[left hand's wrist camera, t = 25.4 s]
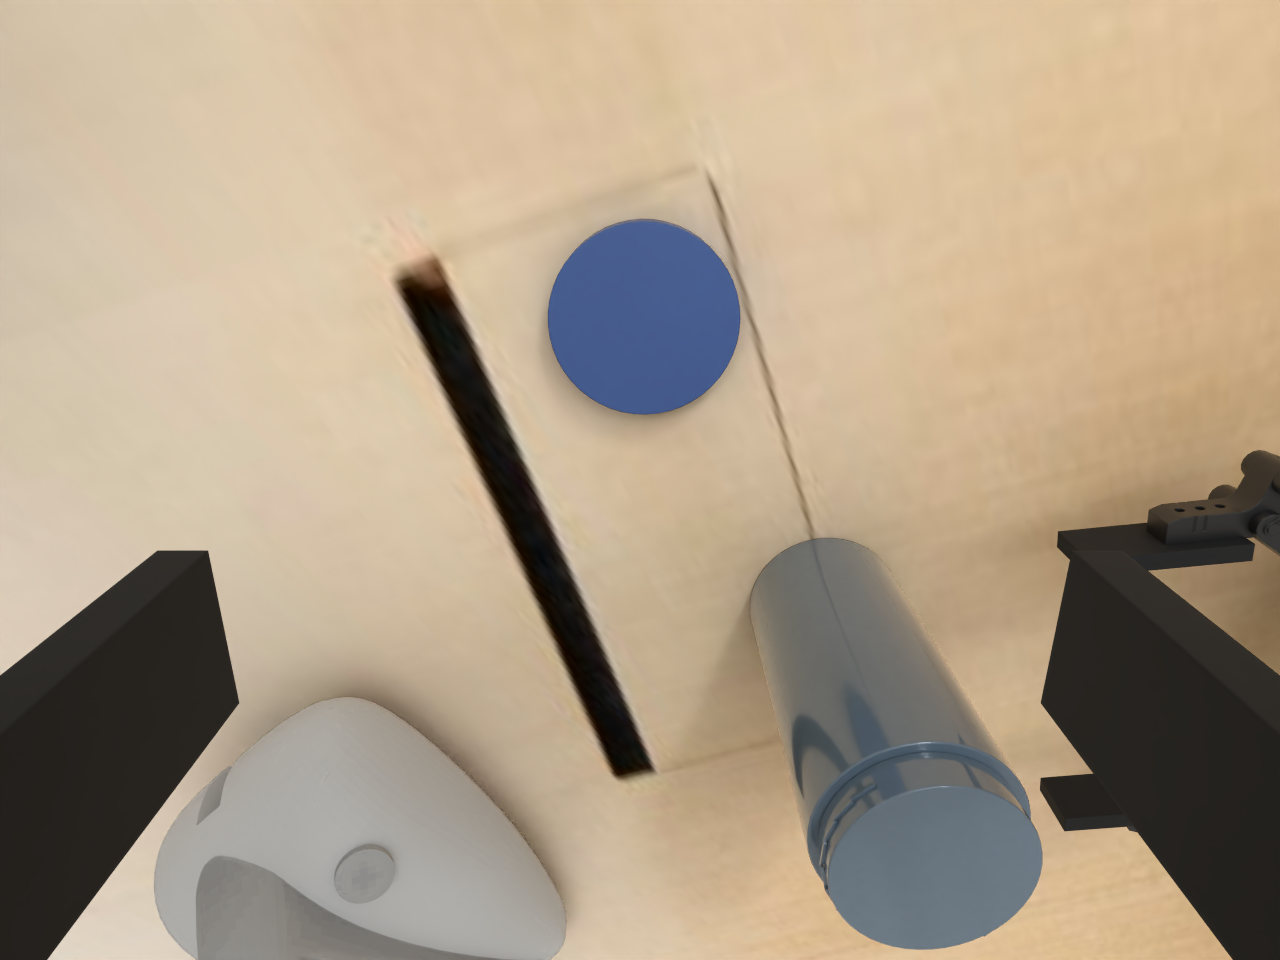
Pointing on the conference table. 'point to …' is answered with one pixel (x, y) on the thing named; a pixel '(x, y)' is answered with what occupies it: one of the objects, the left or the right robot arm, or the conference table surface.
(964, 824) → the jar
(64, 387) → the conference table surface
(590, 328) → the lid
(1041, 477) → the conference table surface
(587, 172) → the conference table surface
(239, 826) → the projector
